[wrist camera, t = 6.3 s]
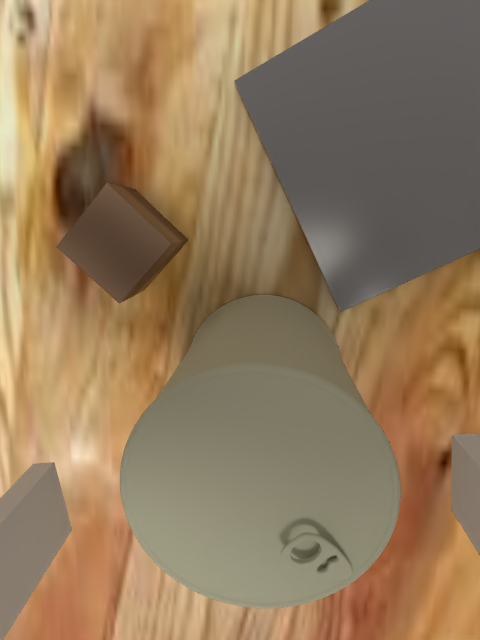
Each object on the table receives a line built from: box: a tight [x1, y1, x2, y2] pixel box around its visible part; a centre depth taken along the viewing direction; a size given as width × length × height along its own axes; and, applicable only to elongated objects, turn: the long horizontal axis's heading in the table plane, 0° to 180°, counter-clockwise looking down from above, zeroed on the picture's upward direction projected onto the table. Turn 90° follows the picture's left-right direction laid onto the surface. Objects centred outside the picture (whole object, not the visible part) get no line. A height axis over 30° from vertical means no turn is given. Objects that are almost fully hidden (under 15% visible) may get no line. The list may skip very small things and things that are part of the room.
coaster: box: [235, 0, 480, 312], centre depth 20 cm, size 13×13×1 cm
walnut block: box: [57, 183, 188, 303], centre depth 21 cm, size 4×4×4 cm
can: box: [120, 295, 401, 608], centre depth 18 cm, size 9×9×12 cm
